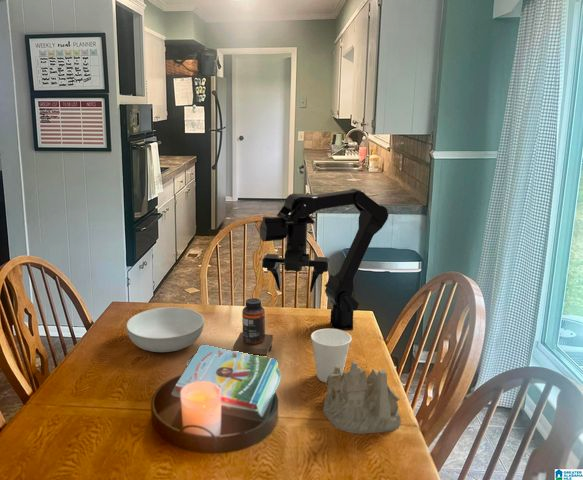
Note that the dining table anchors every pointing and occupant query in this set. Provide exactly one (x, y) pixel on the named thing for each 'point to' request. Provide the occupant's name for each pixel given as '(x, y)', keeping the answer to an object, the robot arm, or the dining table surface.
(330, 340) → the cup
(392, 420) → the grey castle model
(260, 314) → the supplement bottle
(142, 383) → the dining table surface
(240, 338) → the dark brown coaster
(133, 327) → the serving bowl
